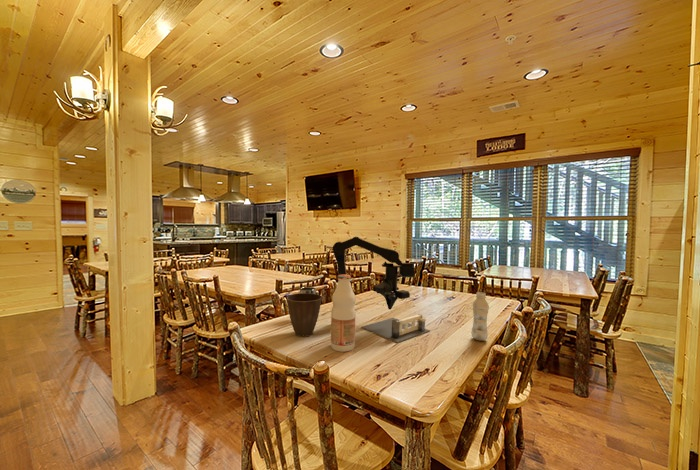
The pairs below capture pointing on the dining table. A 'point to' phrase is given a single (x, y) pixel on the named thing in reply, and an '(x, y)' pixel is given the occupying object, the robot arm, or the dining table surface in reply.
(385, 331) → the mat
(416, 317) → the gate
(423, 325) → the post
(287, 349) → the dining table surface
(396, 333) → the hinge post
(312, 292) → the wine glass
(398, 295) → the robot arm
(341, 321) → the fruit juice
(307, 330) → the plant pot
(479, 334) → the plastic bottle
